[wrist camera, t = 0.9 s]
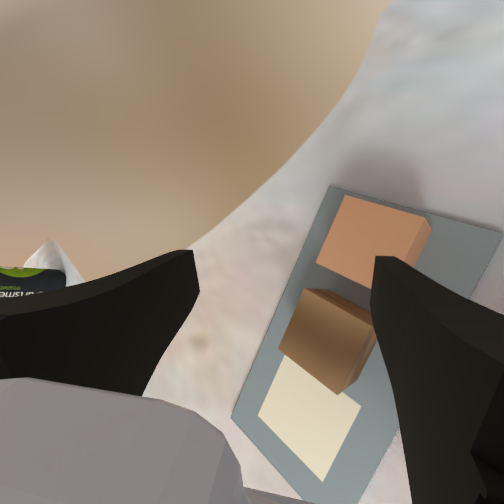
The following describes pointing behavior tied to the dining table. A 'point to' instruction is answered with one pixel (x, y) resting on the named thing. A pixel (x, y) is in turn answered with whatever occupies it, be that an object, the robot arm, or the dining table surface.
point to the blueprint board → (361, 391)
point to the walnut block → (329, 338)
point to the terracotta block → (371, 238)
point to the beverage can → (29, 281)
